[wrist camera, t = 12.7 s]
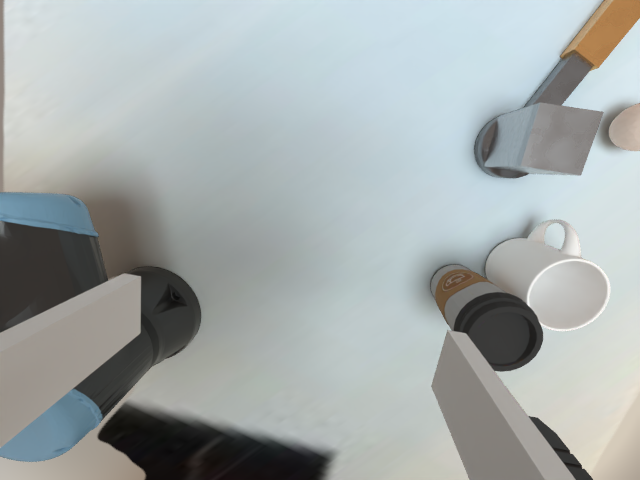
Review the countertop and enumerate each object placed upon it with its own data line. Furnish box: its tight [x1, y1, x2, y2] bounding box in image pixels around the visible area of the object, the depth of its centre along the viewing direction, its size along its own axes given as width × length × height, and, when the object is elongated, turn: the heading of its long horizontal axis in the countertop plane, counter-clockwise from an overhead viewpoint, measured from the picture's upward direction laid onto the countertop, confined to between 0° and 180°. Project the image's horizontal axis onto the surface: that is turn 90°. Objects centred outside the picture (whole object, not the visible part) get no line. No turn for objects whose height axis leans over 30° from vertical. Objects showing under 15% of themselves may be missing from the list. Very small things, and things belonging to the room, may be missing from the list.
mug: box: [485, 219, 610, 331], centre depth 38 cm, size 9×12×11 cm
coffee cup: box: [431, 265, 543, 371], centre depth 37 cm, size 8×8×15 cm
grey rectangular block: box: [484, 103, 603, 175], centre depth 33 cm, size 6×6×8 cm
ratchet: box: [474, 0, 640, 178], centre depth 35 cm, size 8×24×6 cm, turn 146°
